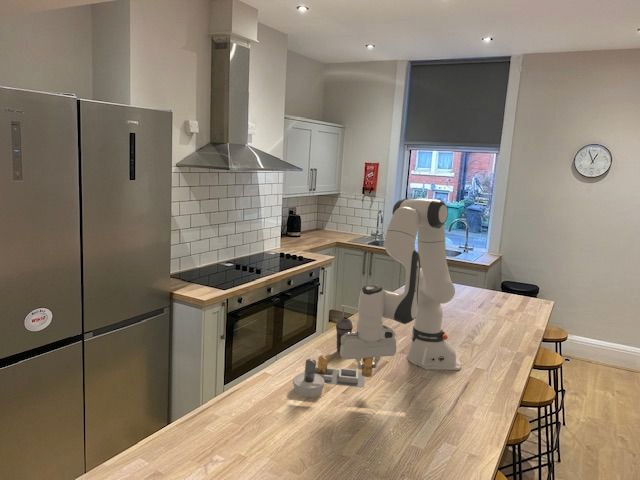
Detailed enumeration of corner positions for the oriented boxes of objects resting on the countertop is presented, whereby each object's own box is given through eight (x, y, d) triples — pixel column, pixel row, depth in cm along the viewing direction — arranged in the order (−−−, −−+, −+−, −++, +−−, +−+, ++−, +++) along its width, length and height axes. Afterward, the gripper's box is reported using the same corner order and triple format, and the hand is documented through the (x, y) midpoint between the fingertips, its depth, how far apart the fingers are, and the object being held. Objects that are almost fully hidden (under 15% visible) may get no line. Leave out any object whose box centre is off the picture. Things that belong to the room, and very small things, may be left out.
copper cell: (372, 373, 168) (374, 353, 167) (370, 377, 165) (371, 357, 163) (363, 371, 169) (364, 351, 168) (360, 375, 166) (361, 355, 165)
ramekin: (300, 404, 159) (301, 390, 158) (287, 389, 169) (287, 375, 168) (329, 398, 164) (330, 384, 163) (314, 383, 174) (315, 370, 173)
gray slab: (363, 375, 183) (364, 367, 183) (364, 390, 172) (364, 382, 171) (307, 369, 185) (308, 361, 184) (304, 384, 173) (304, 375, 172)
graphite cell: (315, 382, 164) (317, 361, 163) (305, 382, 163) (307, 362, 162) (312, 377, 168) (314, 357, 166) (302, 377, 167) (304, 357, 165)
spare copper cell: (326, 373, 180) (328, 354, 179) (326, 377, 176) (327, 359, 175) (317, 372, 180) (319, 354, 179) (316, 376, 177) (318, 358, 175)
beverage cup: (349, 356, 199) (353, 311, 196) (332, 354, 201) (336, 309, 197) (351, 350, 206) (355, 306, 203) (335, 347, 208) (338, 304, 204)
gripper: (344, 336, 158) (342, 374, 161) (399, 332, 164) (396, 369, 166) (338, 329, 164) (336, 366, 167) (392, 326, 170) (389, 361, 172)
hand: (367, 368), depth 167 cm, fingers closed on copper cell, 4 cm apart
